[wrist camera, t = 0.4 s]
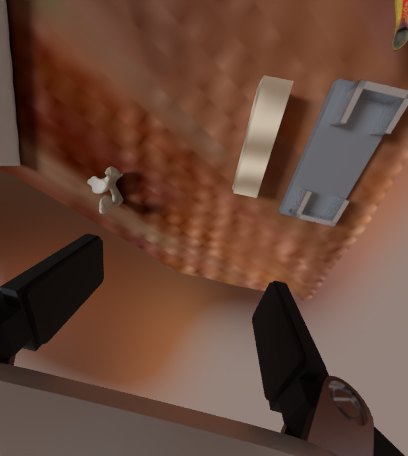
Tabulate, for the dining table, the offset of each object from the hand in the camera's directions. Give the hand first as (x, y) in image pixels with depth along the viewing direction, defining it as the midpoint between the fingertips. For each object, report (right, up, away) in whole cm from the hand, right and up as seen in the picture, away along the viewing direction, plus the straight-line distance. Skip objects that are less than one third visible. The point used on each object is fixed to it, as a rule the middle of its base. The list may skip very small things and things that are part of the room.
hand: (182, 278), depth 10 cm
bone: (-18, +12, +27) cm, 35 cm away
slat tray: (+23, +14, +21) cm, 34 cm away
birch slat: (+10, +18, +21) cm, 29 cm away
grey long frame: (+23, +14, +20) cm, 33 cm away
